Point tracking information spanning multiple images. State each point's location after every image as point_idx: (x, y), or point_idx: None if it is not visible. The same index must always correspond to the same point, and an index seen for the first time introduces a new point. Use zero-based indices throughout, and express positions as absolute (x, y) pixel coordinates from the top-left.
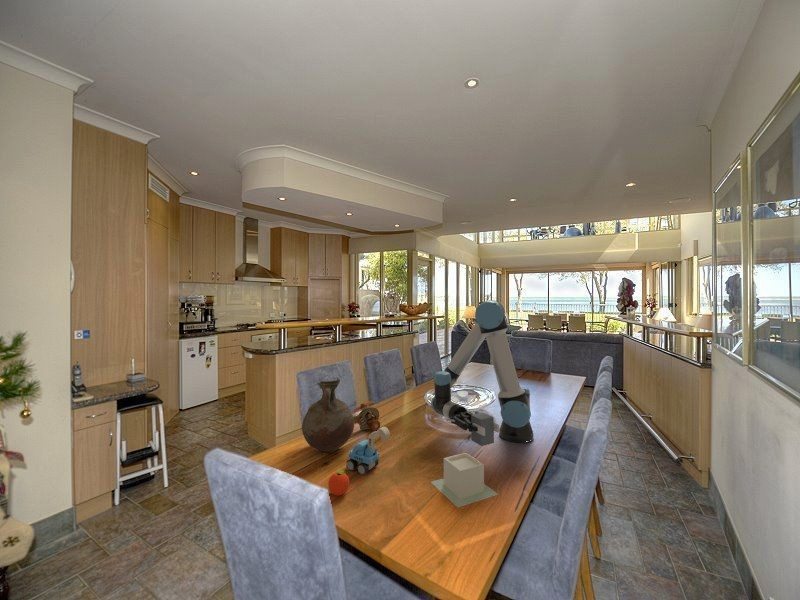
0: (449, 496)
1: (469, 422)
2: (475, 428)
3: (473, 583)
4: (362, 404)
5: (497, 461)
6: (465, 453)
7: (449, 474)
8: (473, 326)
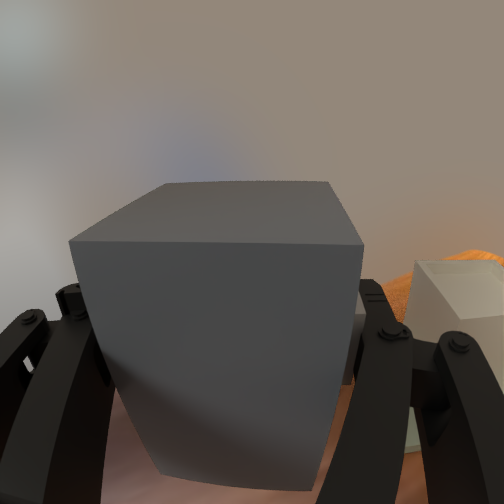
0: None
1: (387, 353)
2: (373, 284)
3: (472, 253)
4: None
5: (156, 477)
6: (465, 315)
7: None
8: None
